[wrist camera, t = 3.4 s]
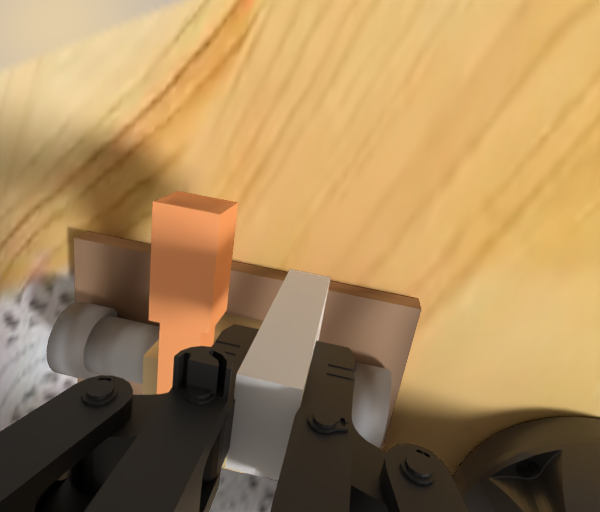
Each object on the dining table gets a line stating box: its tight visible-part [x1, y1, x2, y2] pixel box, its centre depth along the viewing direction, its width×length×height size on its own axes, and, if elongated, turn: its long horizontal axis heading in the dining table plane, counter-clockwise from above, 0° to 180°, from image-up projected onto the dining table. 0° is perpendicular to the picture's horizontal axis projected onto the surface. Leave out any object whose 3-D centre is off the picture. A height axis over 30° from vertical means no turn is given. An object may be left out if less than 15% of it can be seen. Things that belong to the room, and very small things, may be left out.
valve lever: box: [149, 191, 238, 394], centre depth 19 cm, size 14×3×2 cm, turn 171°
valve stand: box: [47, 232, 421, 473], centre depth 26 cm, size 22×12×8 cm, turn 81°
